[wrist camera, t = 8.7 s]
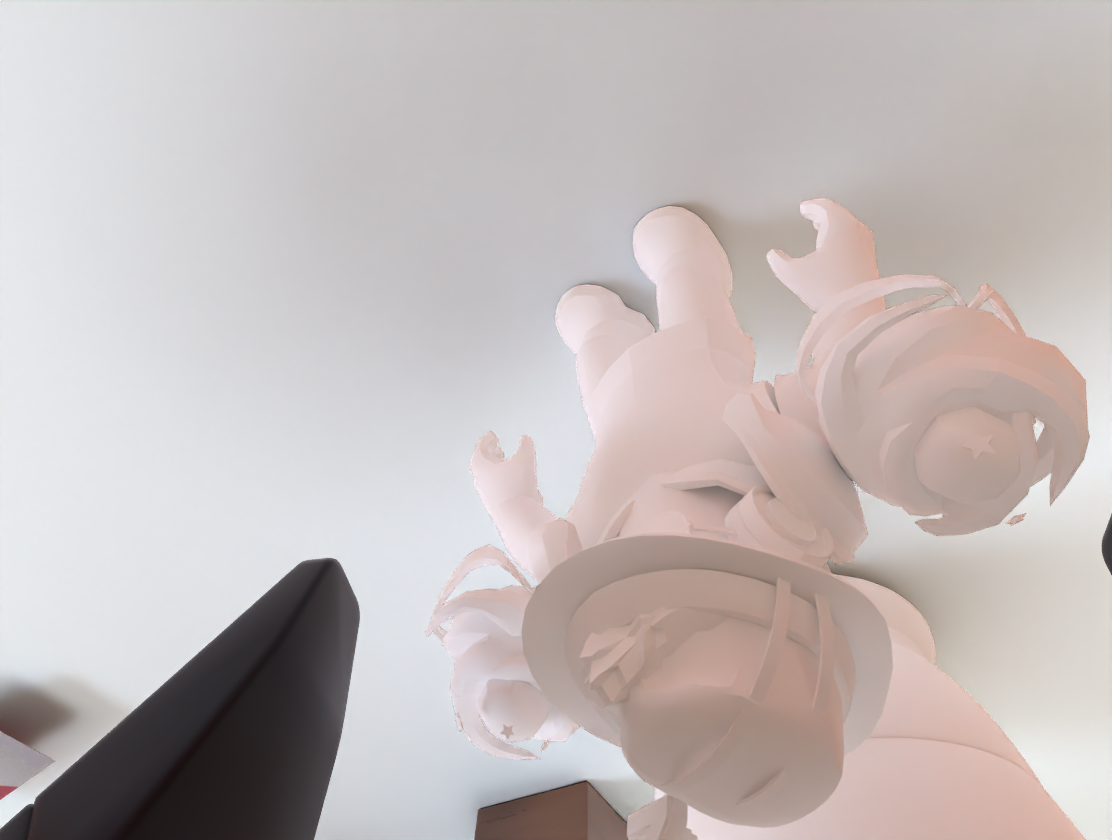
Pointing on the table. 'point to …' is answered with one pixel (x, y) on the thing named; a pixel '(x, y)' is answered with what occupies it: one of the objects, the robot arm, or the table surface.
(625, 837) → the toy block
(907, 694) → the jar
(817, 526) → the pink action figure
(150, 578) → the table surface
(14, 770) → the garden trowel
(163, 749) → the robot arm
